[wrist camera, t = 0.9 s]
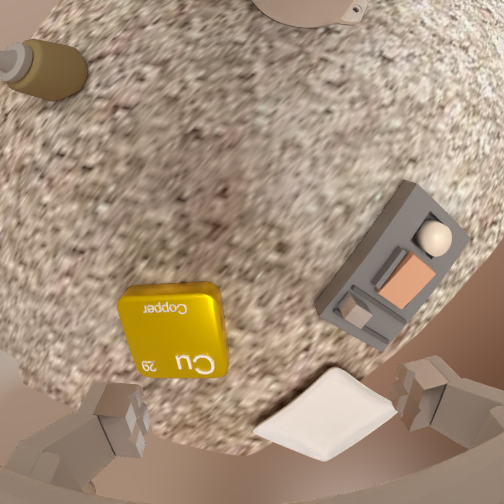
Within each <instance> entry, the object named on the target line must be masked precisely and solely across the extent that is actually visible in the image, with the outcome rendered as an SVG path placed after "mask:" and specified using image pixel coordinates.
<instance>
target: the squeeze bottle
mask: <svg viewBox="0 0 504 504" xmlns="http://www.w3.org/2000/svg"><path fill="white" fill-rule="evenodd" d="M87 74H88V69H87V64H86V63H85V61H84V59H83V57H82V56H81V54H80V53H79V52H78V50H77V49H76V48H73V47H70V46H67V45H62V44H57V43H53V42H48V41H42V40H37V39H31V40H27V41H25V42H23V43H19V42H17V43H13V44H11V45H10V46H9V47H7V48H6V50H5V51H0V80H2V81H4V82H7V84H8V86H9V87H10V88H11V89H13V90H15V91H18V92H21V93H25V94H28V95H32V96H35V97H38V98H42V99H45V100H48V101H56V100H61V99H63V98H65V97H68V96H70V95H72V94H74V93H76V92H78V91H79V90H80V89H81V87H82V86H83V85H84V83H85V81H86V79H87Z"/></svg>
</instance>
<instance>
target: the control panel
mask: <svg viewBox="0 0 504 504" xmlns="http://www.w3.org/2000/svg"><path fill="white" fill-rule="evenodd" d="M426 219H434V220H436V221H438V222H440V223H442V224H444V225H446V226H447V227H448V228H449V229H450V231H451V234H452V242H451V245H450V247H449V249H448V250H447V252H446V253H444V254H443V255H441V256H438V257H435V256H432V255H430V254H429V253H427V252H426V251H425V250H423V249H422V248H421V247H419V246H418V244H417V242H416V238H415V235H416V231H417V230H418V228H419V227H420V225H421V224H422V222H423V221H424V220H426ZM469 240H470V237H469V236H468V235H467V233H466V232H465V231H464V230H463V229H462V228H461V227H460V226H459V225H458V224H457V223H456V222H455V221H454V220H453V219H452V217H451V216H450V215H449V214H448V213H447V212H446V211H445V210H444V209H443V208H442V207H441V206H440V205H439V204H438V203H437V202H436V201H435V200H434V199H433V198H432V197H431V196H429V195H428V194H427V193H426V192H425V191H424V190H423V189H422V188H421V187H420V186H419V185H418V184H416V183H413V182H410V181H407V180H403V182H402V183H401V185H400V186H399V188H398V189H397V191H396V192H395V194H394V195H393V197H392V198H391V200H390V201H389V203H388V204H387V206H386V207H385V208H384V210H383V211H382V213H381V214H380V216H379V217H378V218H377V220H376V221H375V223H374V224H373V226H372V227H371V228H370V230H369V231H368V232H367V234H366V235H365V237H364V238H363V239H362V241H361V242H360V244H359V245H358V246H357V248H356V249H355V250H354V252H353V253H352V254H351V256H350V257H349V258H348V260H347V261H346V262H345V264H344V265H343V266H342V268H341V269H340V270H339V272H338V273H337V274H336V276H335V277H334V278H333V279H332V281H331V282H330V283H329V285H328V286H327V287H326V288H325V290H324V291H323V292H322V293H321V295H320V296H319V297H318V299H317V300H316V301H315V302H314V303H315V306H316V309H317V312H318V315H319V317H321V318H323V319H325V320H326V321H328V322H330V323H332V324H333V325H335V326H337V327H339V328H340V329H342V330H344V331H346V332H347V333H349V334H351V335H353V336H354V337H356V338H358V339H360V340H362V341H363V342H365V343H367V344H369V345H370V346H372V347H374V348H376V349H378V350H379V351H381V352H383V351H384V349H385V348H386V347H387V346H388V345H389V344H390V343H391V342H392V341H393V339H394V338H395V337H396V336H397V335H398V334H399V333H400V331H401V330H402V329H403V328H404V327H405V326H406V324H407V323H408V322H409V321H410V320H411V319H412V317H413V316H414V315H415V314H416V312H417V311H418V310H419V309H420V308H421V306H422V305H423V304H424V303H425V301H426V300H427V299H428V297H429V296H430V295H431V294H432V292H433V291H434V290H435V288H436V287H437V286H438V284H439V283H440V282H441V280H442V279H443V278H444V276H445V275H446V273H447V272H448V271H449V269H450V268H451V267H452V265H453V264H454V262H455V261H456V259H457V258H458V256H459V255H460V254H461V252H462V251H463V249H464V248H465V246H466V245H467V243H468V242H469ZM410 251H412V252H413V253H414V254H416V255H417V256H418V257H419V258H420V259H422V260H423V261H424V262H425V263H426V264H427V265H428V266H430V267H431V268H432V269H433V270H434V272H435V273H436V275H435V276H434V277H433V278H432V279H431V280H430V281H429V282H428V283H427V284H426V285H425V286H424V287H423V288H422V290H421V291H420V292H419V293H418V294H417V295H416V296H415V297H414V298H413V299H412V300H411V301H410V302H409V303H408V304H407V305H406V306H405V307H404V308H403V309H402V310H401V309H400V308H399V307H397V306H396V305H394V304H393V303H391V302H390V301H388V300H387V299H386V298H384V297H383V296H381V295H380V294H378V292H377V289H376V288H378V289H380V287H381V286H382V285H383V284H384V282H385V281H386V280H387V278H388V277H389V276H390V274H391V273H392V272H393V271H394V269H395V268H396V267H397V265H398V264H399V263H400V262H401V261H402V260H403V259H404V258H405V256H406V255H407V254H408V253H409V252H410ZM348 292H350V293H352V294H353V295H355V296H356V297H358V298H359V299H361V300H363V301H364V302H365V303H366V305H367V306H368V308H369V310H370V311H371V313H372V314H373V316H372V317H371V318H370V319H369V320H368V322H367V323H366V324H365V325H364V326H363V327H362V329H360V328H359V327H357V326H355V325H353V324H352V323H350V322H348V321H347V320H345V319H344V317H343V315H342V313H341V311H340V309H339V307H338V305H339V303H340V302H341V301H342V300H343V298H344V297H345V296H346V295H347V293H348Z"/></svg>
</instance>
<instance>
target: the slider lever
mask: <svg viewBox="0 0 504 504" xmlns="http://www.w3.org/2000/svg"><path fill="white" fill-rule="evenodd" d="M338 307H339V309H340V311H341V313H342V315H343V317H344V319H345V320H347V321H348V322H350V323H352V324H353V325H355V326H357V327H359V328H360V329H362V327H363V326H364V325H365V324H366V323H367V322H368V320H369V319H370V318H371V317H372V316H373V314H372V313H371V311H370V310H369V308H368V306H367V305H366V303H365V302H364V301H363V300H361V299H359V298H358V297H356V296H355V295H353V294H352V293H350V292H348V293H347V295H346V296H345V297H344V298H343V300H342V301H341V302H340V303H339V305H338Z"/></svg>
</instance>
